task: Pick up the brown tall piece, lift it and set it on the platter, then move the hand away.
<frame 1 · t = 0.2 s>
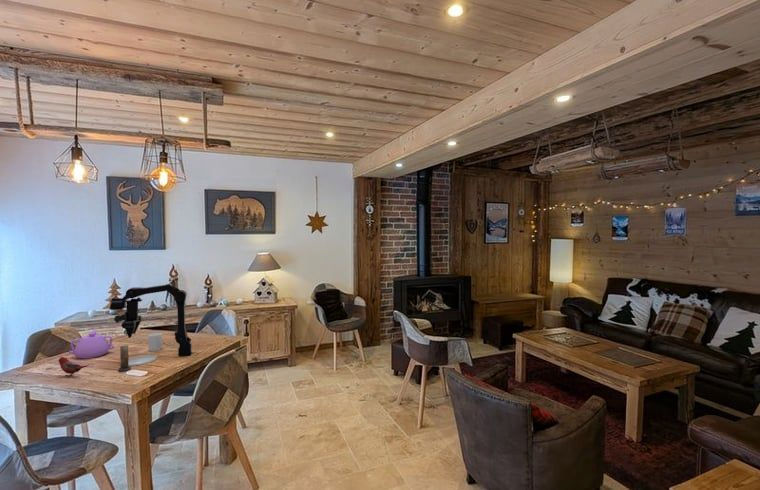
hand: (131, 335, 216), 14 cm above the table, tool pointing down, fingers open, 9 cm apart
decorative bird figurine: (73, 377, 190), on the table
platter: (138, 361, 214), on the table
white cup: (155, 350, 236), on the table
teapot: (92, 354, 226), on the table
brown tall piece: (124, 370, 199), on the table
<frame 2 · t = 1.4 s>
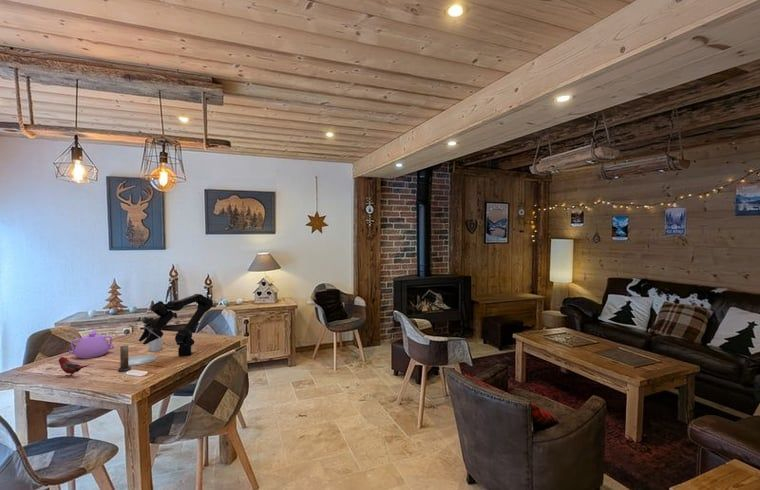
hand: (141, 342, 205), 13 cm above the table, tool tilted 45°, fingers open, 9 cm apart
nothing on the table moved.
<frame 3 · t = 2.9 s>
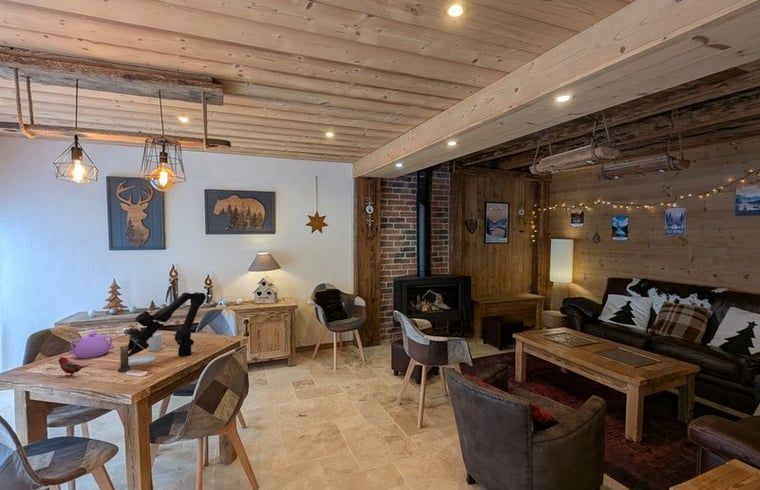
hand: (126, 354, 200), 8 cm above the table, tool tilted 45°, fingers open, 9 cm apart
nothing on the table moved.
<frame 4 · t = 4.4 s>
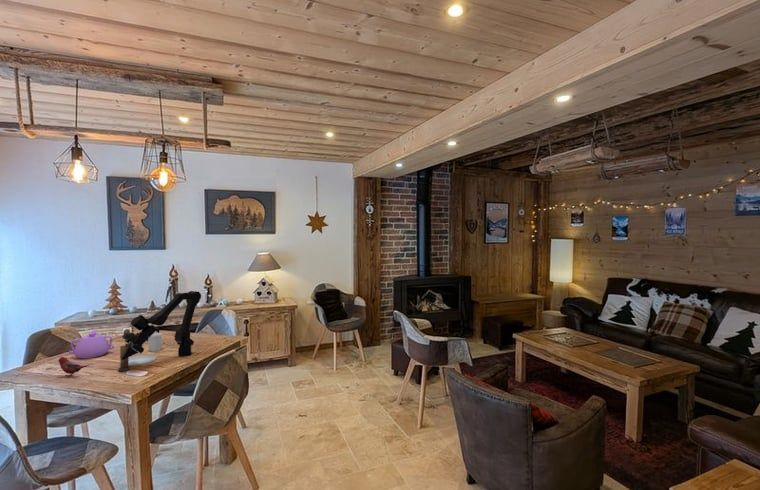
hand: (121, 358, 198), 7 cm above the table, tool tilted 45°, fingers closed on brown tall piece, 4 cm apart
brown tall piece: (124, 370, 199), on the table, touching gripper
everything else where it was.
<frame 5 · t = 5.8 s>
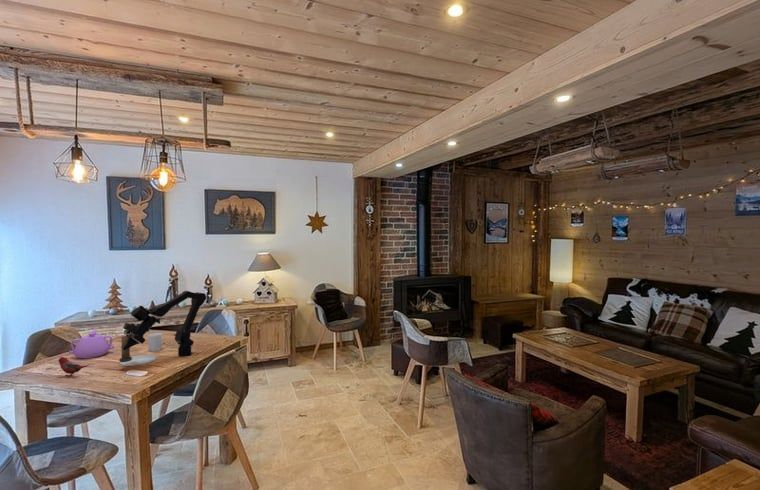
hand: (122, 349, 200), 11 cm above the table, tool tilted 45°, fingers closed on brown tall piece, 4 cm apart
brown tall piece: (125, 360, 201), point 5 cm above the table, touching gripper
everything else where it was.
when the fingers open (9 cm above the table, at t = 7.5 s): brown tall piece drops 1 cm, resting on platter.
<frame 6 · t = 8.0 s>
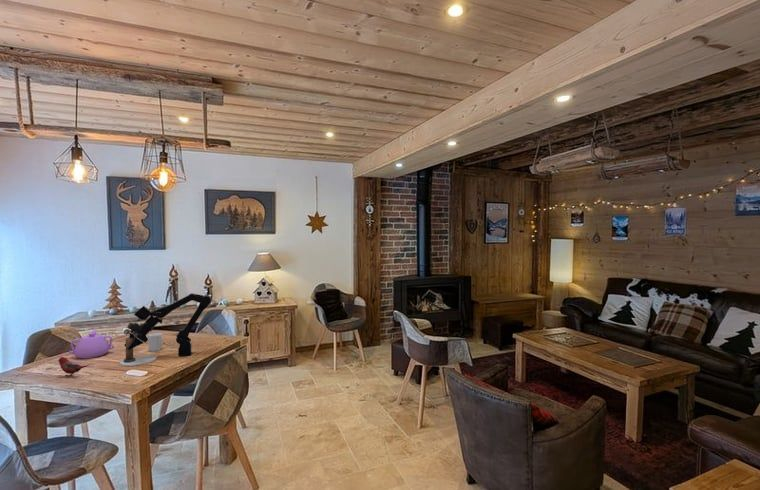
hand: (126, 347, 210), 9 cm above the table, tool tilted 45°, fingers open, 9 cm apart
brown tall piece: (129, 361, 211), point 1 cm above the table, touching platter
everything else where it was.
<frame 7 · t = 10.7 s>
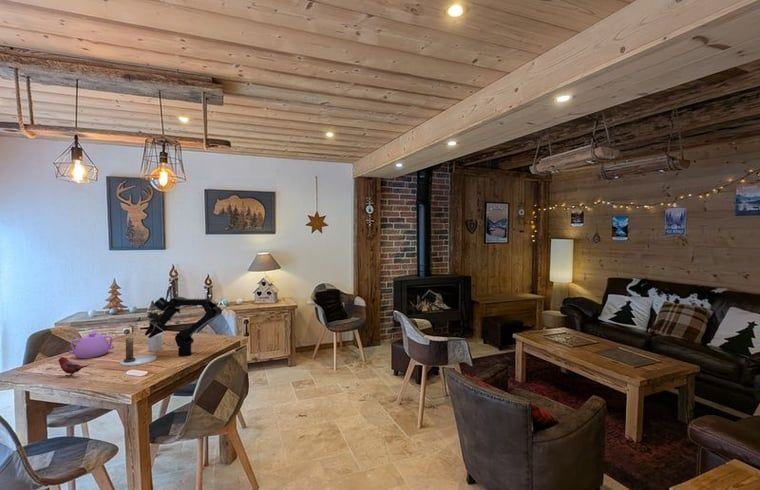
hand: (146, 336, 218), 14 cm above the table, tool tilted 45°, fingers open, 9 cm apart
nothing on the table moved.
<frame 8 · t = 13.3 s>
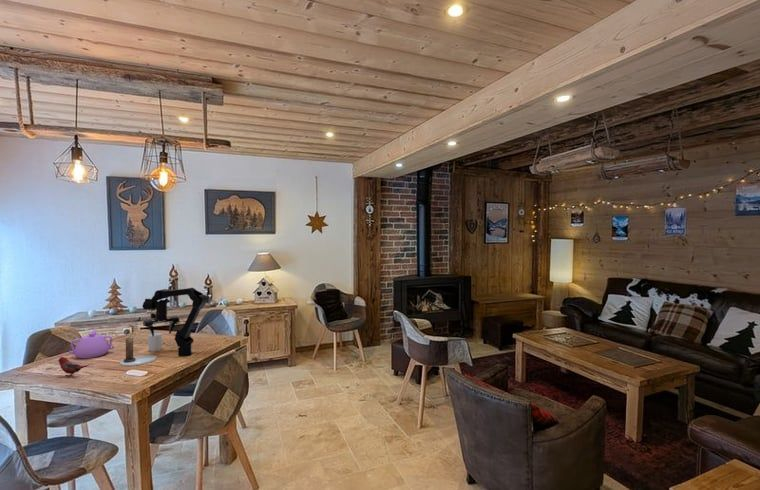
hand: (161, 335, 227), 12 cm above the table, tool pointing down, fingers open, 9 cm apart
nothing on the table moved.
at the end: brown tall piece inside the target area on the platter (4.4 cm from its centre), point 1.0 cm above the platter's base; brown tall piece tilted 0°; the gripper is holding nothing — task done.
